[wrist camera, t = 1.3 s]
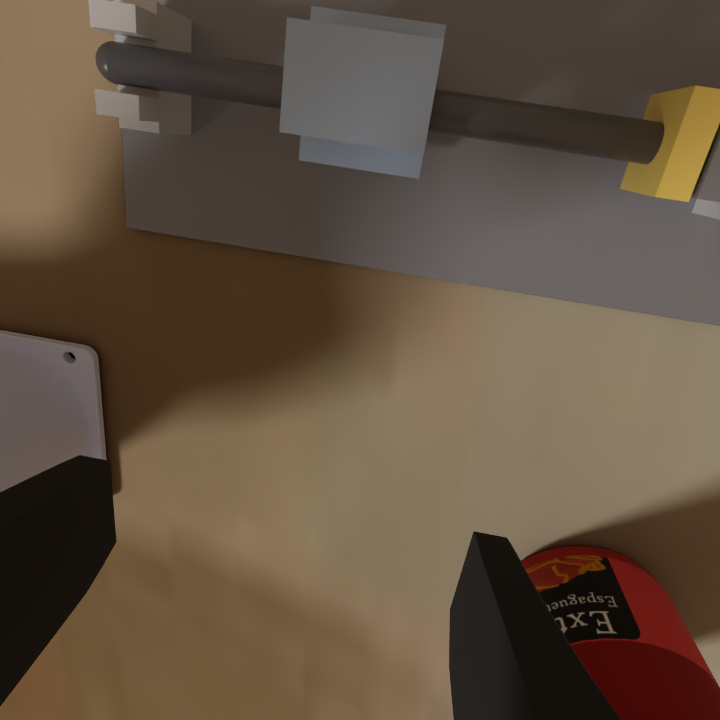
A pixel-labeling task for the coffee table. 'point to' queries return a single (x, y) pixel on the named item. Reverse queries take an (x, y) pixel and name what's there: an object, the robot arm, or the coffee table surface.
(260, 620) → the coffee table surface
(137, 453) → the coffee table surface
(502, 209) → the linear slide rail
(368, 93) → the sleeve
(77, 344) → the robot arm
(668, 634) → the canned food
